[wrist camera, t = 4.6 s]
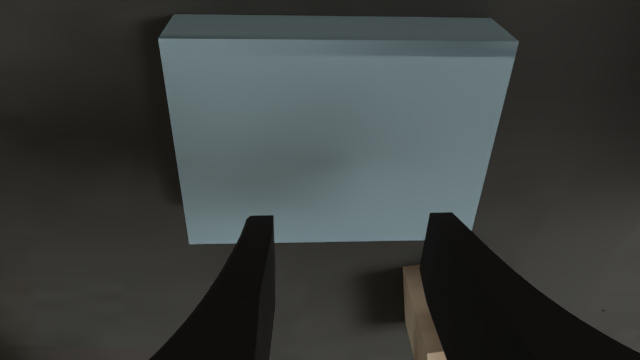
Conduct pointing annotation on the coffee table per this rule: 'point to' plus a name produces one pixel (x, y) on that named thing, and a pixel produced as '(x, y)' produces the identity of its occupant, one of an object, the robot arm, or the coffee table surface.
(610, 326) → the coffee table surface
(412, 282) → the beech block
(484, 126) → the book
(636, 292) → the coffee table surface
